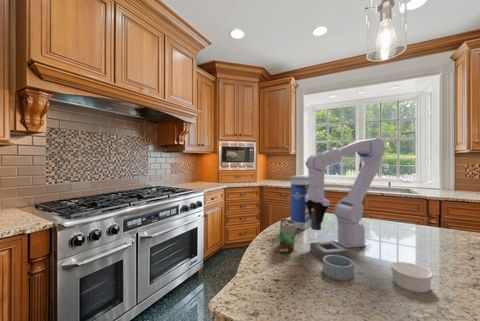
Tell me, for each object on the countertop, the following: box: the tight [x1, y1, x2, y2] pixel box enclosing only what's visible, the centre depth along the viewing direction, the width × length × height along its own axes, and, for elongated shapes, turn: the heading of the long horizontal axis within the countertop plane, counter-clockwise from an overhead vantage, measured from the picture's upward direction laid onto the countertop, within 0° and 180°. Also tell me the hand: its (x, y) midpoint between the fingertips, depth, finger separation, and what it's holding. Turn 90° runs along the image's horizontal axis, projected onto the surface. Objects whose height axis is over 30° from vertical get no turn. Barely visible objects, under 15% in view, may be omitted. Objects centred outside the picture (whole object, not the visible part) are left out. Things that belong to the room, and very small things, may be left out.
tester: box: [309, 240, 349, 261], centre depth 80 cm, size 9×9×3 cm
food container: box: [279, 218, 298, 255], centre depth 86 cm, size 12×6×10 cm, turn 168°
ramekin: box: [390, 261, 433, 294], centre depth 61 cm, size 9×9×4 cm
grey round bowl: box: [322, 255, 355, 281], centre depth 68 cm, size 8×8×4 cm
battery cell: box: [310, 208, 322, 231], centre depth 88 cm, size 4×4×8 cm
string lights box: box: [290, 174, 311, 230], centre depth 117 cm, size 13×8×26 cm, turn 147°
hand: (316, 221), depth 88 cm, fingers closed on battery cell, 4 cm apart
